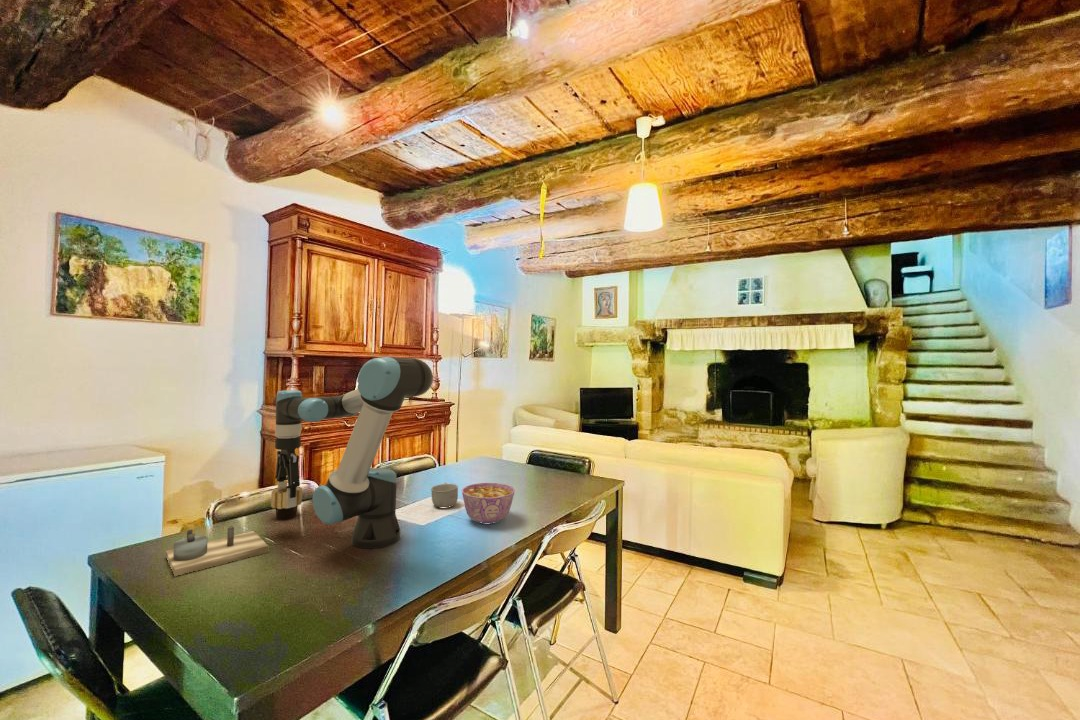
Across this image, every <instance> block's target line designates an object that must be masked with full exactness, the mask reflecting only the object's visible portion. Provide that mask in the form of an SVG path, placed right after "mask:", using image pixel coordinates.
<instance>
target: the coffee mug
mask: <svg viewBox="0 0 1080 720" xmlns="http://www.w3.org/2000/svg"><path fill="white" fill-rule="evenodd" d="M298 507H299V505H296V507H291V508H287V509H285V508H282V509H278V508H275V519H276V518H277V519H276V520H278V521H287V520H288V521H289V520H291V519H294V518H296V517H297V514H298Z"/></svg>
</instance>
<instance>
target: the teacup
mask: <svg viewBox="0 0 1080 720" xmlns="http://www.w3.org/2000/svg"><path fill="white" fill-rule="evenodd" d="M458 488H459V486H458V485H457V484H456V483H448V482H443V483H440V484H435V485H434V486H432V487H431V488H430V489H431V490H430V491H431V501H432V504H433V505H434V506H435V507H436V508H438V507H449V506H452V505H453V506H454V505H455V504H456V503H457V502H458V498H459V491H458V490H459V489H458ZM453 506H452V507H453ZM449 508H450V507H449Z"/></svg>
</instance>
